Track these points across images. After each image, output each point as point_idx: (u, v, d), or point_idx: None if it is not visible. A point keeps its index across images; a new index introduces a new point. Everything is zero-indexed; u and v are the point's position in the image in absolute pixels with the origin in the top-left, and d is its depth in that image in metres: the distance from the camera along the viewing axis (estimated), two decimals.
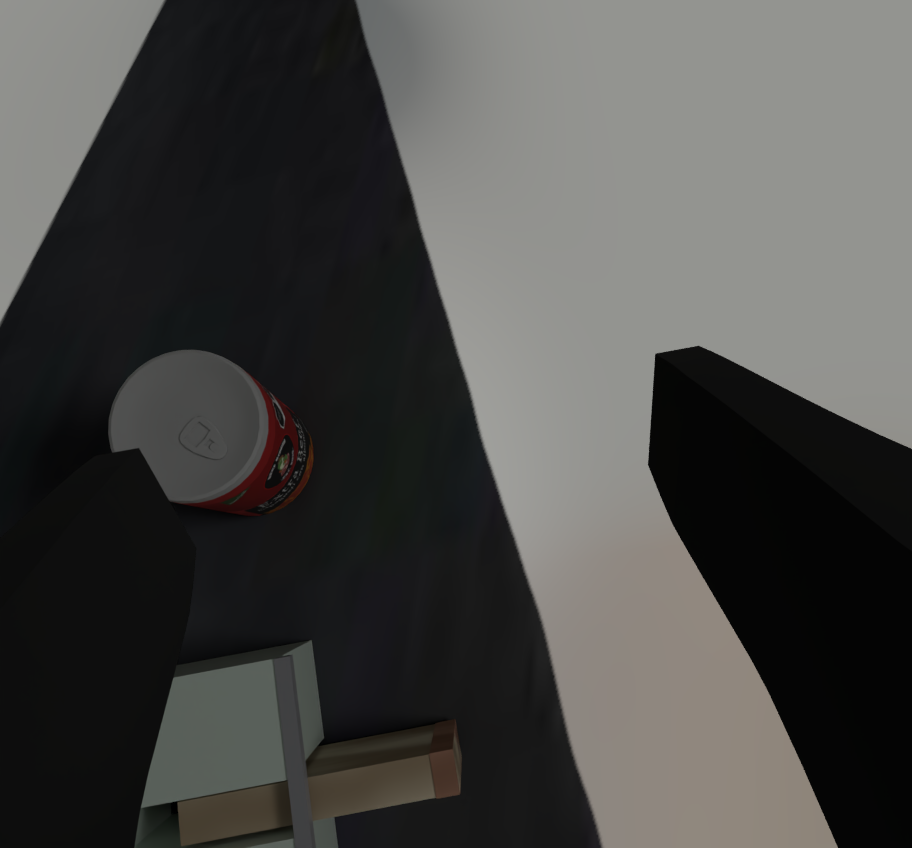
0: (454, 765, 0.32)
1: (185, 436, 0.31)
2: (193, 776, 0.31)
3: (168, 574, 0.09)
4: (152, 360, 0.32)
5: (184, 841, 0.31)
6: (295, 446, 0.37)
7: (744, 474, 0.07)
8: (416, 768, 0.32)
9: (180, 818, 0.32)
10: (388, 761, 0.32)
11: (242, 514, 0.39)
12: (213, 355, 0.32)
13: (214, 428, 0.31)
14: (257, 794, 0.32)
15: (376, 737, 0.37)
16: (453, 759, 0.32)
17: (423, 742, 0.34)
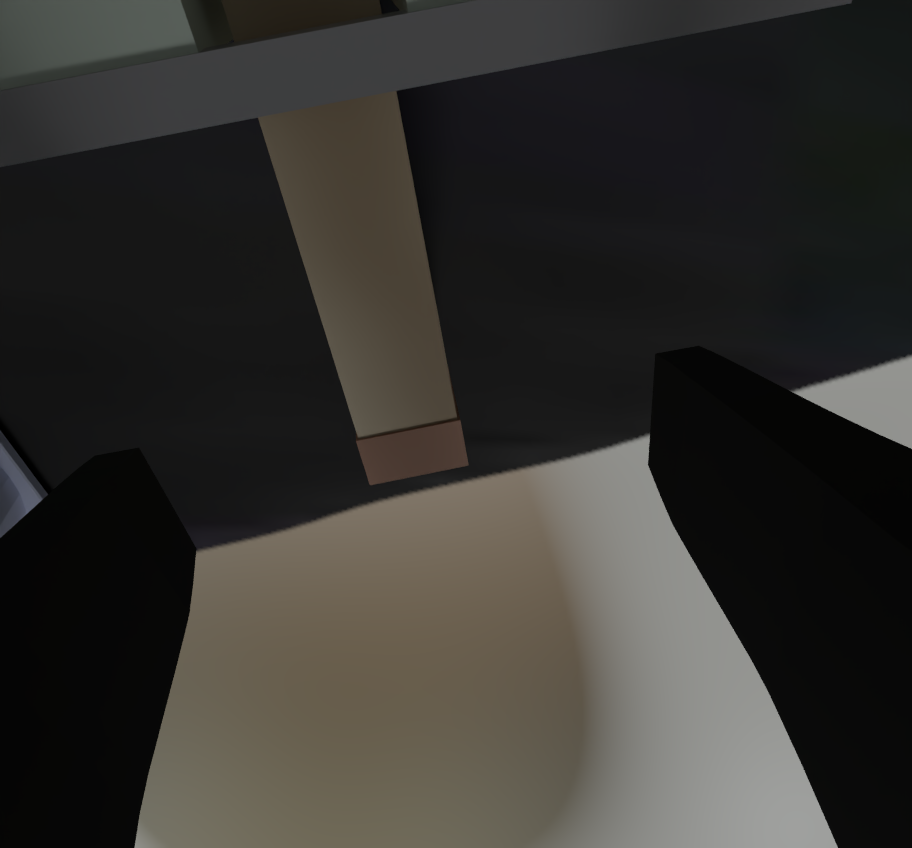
0: (431, 469, 0.13)
1: None
2: None
3: (168, 574, 0.09)
4: None
5: None
6: None
7: (744, 474, 0.07)
8: (424, 394, 0.12)
9: None
10: (439, 324, 0.11)
11: None
12: None
13: None
14: None
15: None
16: (445, 468, 0.13)
17: None
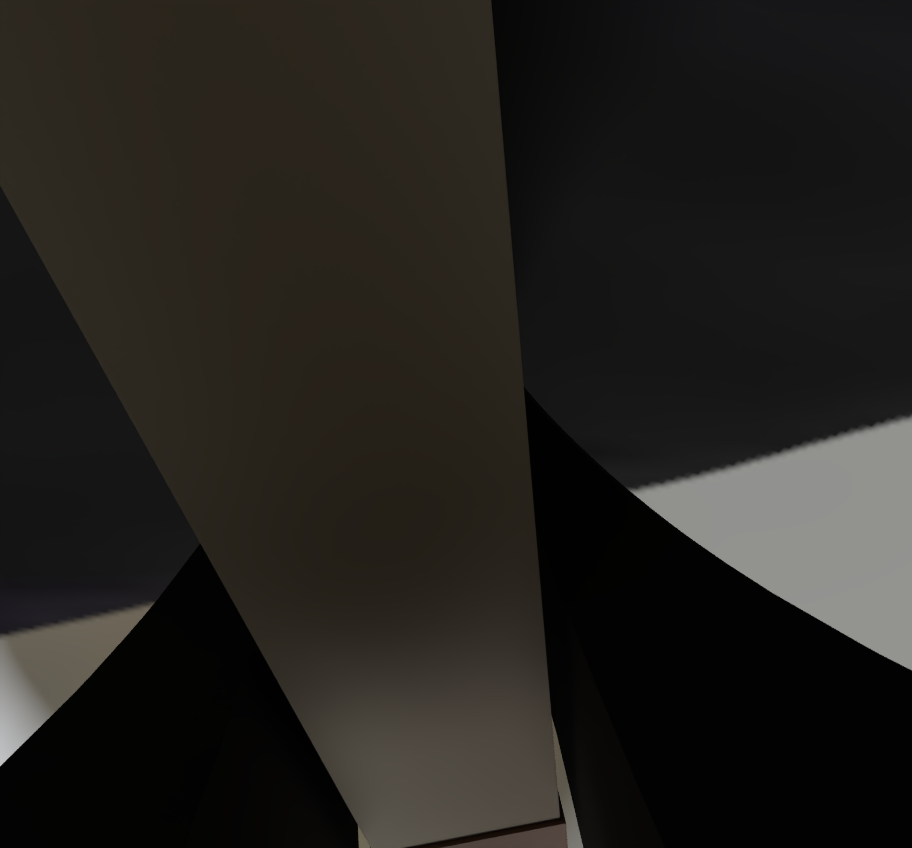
0: None
1: None
2: None
3: None
4: None
5: None
6: None
7: None
8: (505, 799, 0.06)
9: None
10: (549, 710, 0.06)
11: None
12: None
13: None
14: None
15: None
16: None
17: None
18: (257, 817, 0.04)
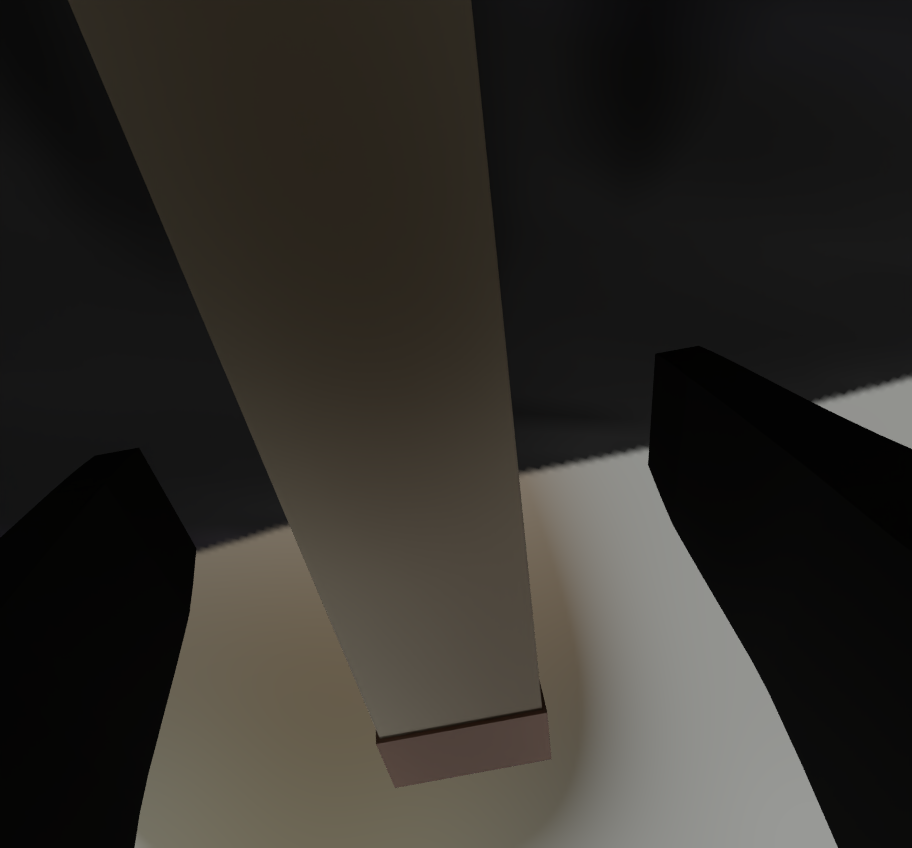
0: (493, 765, 0.08)
1: None
2: None
3: (168, 574, 0.09)
4: None
5: None
6: None
7: (744, 474, 0.07)
8: (493, 685, 0.07)
9: None
10: (529, 597, 0.07)
11: None
12: None
13: None
14: None
15: None
16: (515, 764, 0.08)
17: None
18: None
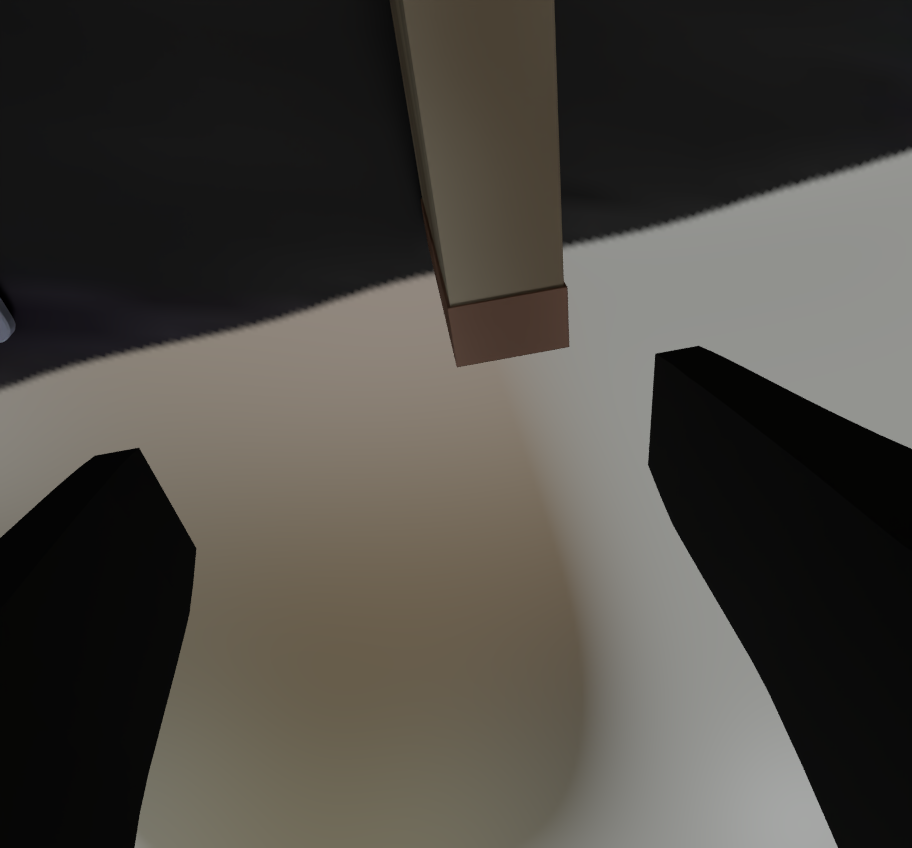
0: (527, 351, 0.12)
1: None
2: None
3: (168, 574, 0.09)
4: None
5: None
6: None
7: (744, 474, 0.07)
8: (531, 251, 0.11)
9: None
10: (558, 159, 0.10)
11: None
12: None
13: None
14: None
15: None
16: (543, 349, 0.12)
17: None
18: None
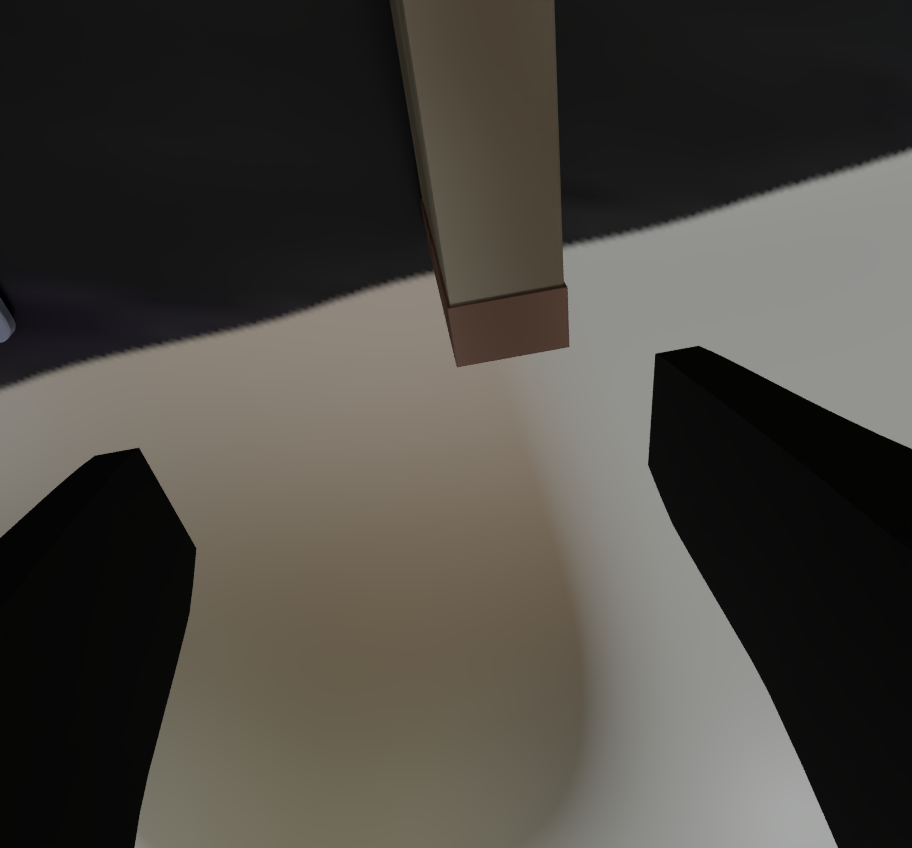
0: (527, 351, 0.12)
1: None
2: None
3: (168, 574, 0.09)
4: None
5: None
6: None
7: (744, 474, 0.07)
8: (531, 251, 0.11)
9: None
10: (558, 159, 0.10)
11: None
12: None
13: None
14: None
15: None
16: (543, 349, 0.12)
17: None
18: None
